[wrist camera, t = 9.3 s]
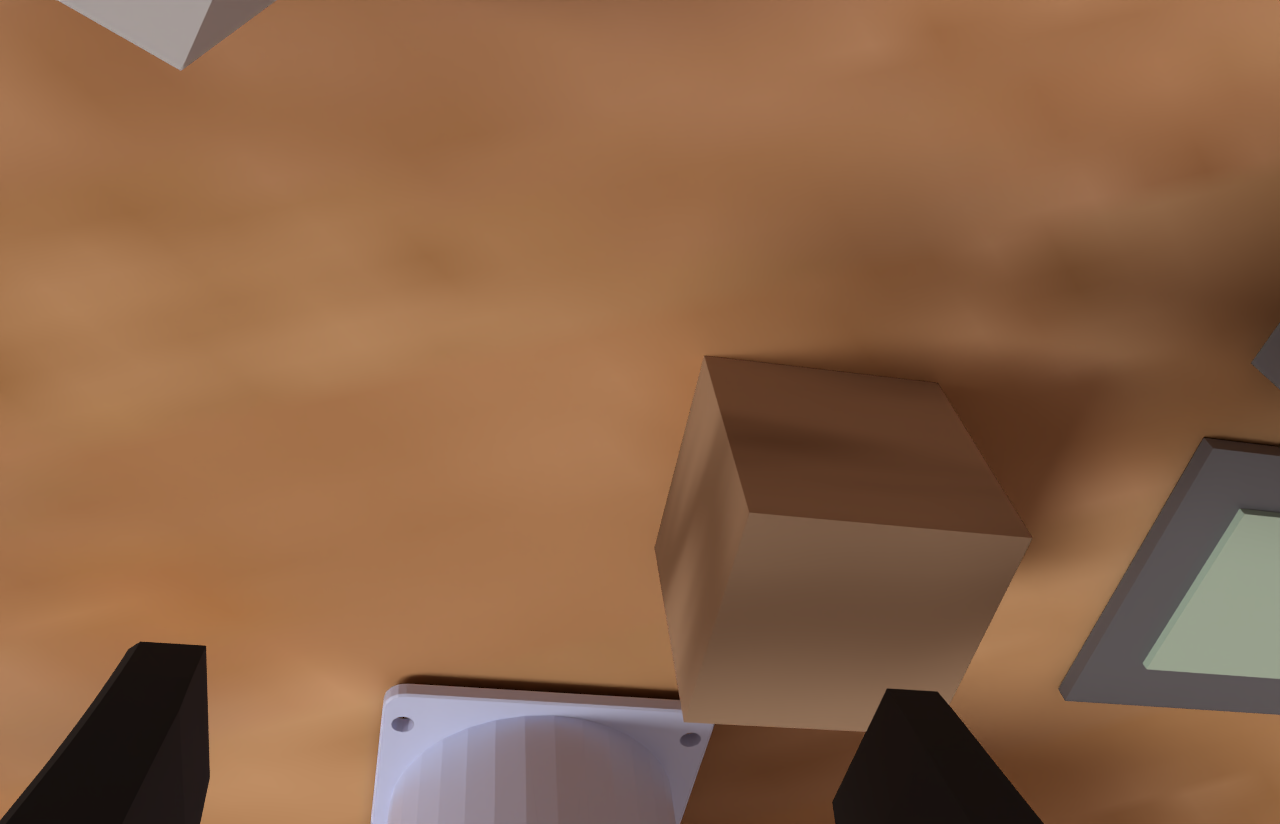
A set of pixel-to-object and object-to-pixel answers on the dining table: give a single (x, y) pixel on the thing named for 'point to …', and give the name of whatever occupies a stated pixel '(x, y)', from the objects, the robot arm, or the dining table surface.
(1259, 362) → the slate base
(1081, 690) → the grey square plate
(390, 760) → the robot arm
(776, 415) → the walnut block
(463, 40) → the dining table surface
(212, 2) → the grey rock
